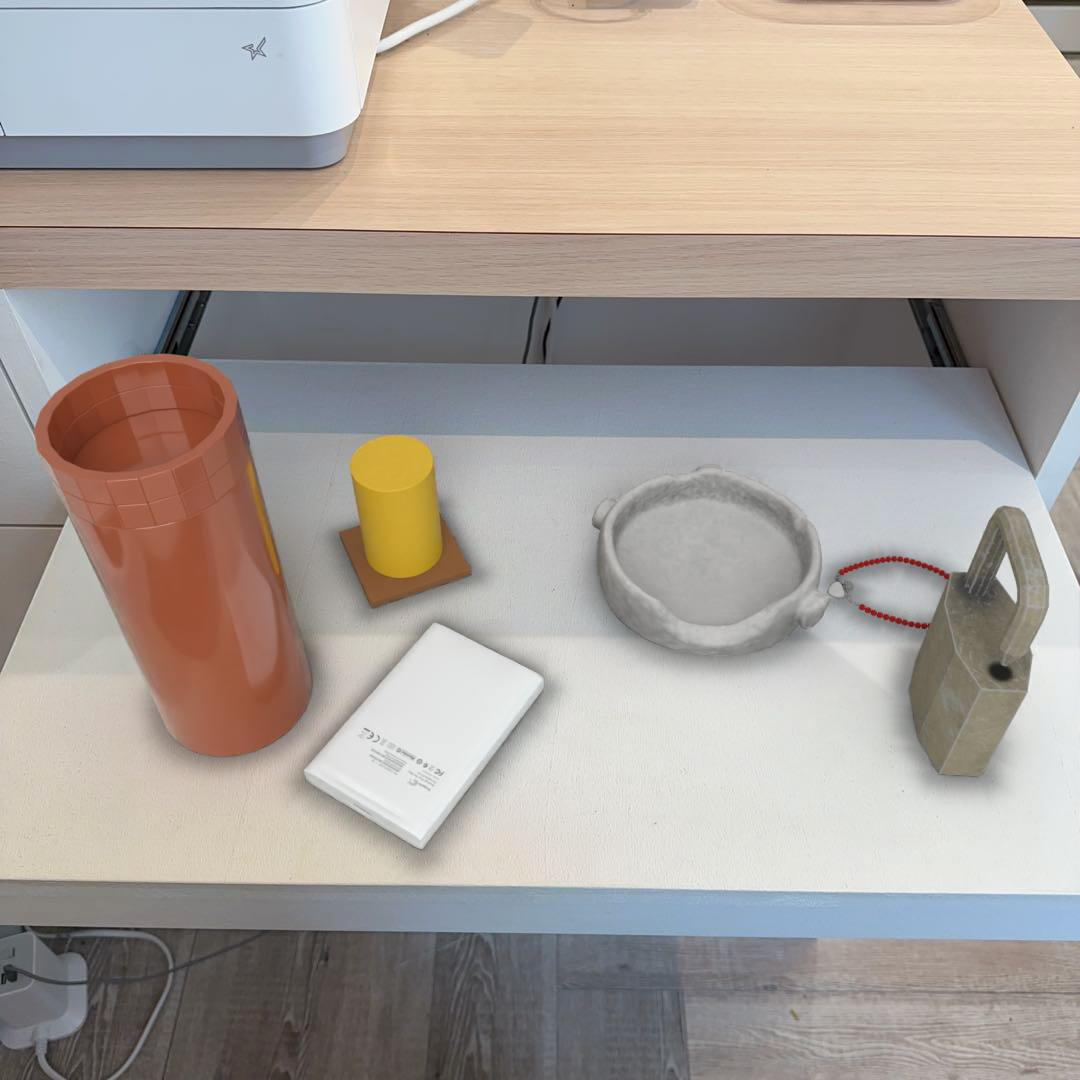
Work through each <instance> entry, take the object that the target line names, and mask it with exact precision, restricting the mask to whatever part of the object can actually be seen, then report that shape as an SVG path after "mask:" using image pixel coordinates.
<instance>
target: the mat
mask: <svg viewBox="0 0 1080 1080" xmlns="http://www.w3.org/2000/svg"><path fill="white" fill-rule="evenodd" d="M439 515H440V525H441V534H442V544H443V550H442V554H441V556H440V558H439V560H438V561H437V563H436V564H435V565H434V566H433V567H432V568H431V569H429V570H428V571H426V572H424V573H422V574H420V575H417V576H413V577H408V578H393V577H388V576H385V575H382V574H380V573H379V572H377V571H376V570H374V569H373V568H372V567H371V566H370V564H369V563H368V561H367V558H366V554H365V549H364V543H363V538H362V532H361V527H360V525H357V526H353V527H350V528H347V529H344V530H341V531H338V534H339V539H340V542H341V543H342V545H343V548H344V550H345V552H346V555H347V557H348V559H349V561H350V563H351V566H352V567H353V571H354V572H355V575H356V577H357V579H358V581H359V584H360V586H361V588H362V590H363V592H364V594H365V597H366V599H367V601H368V604H369V606H370V608H371V609H374V608H377V607H379V606H382V605H385V604H386V605H387V604H389V603H392V602H395V601H397V600H398V601H399V600H400V599H404V598H406V597H407V598H408V597H410V596H412V595H416V594H418V593H422V592H424V591H428V590H430V589H434V588H436V587H440V586H443V585H446V584H449V583H451V582H454V581H457V580H461V579H463V578H467V577H469V576H472V568H471V566H470V564H469V563H468V561H467V559H466V557H465V555H464V554H463V552H462V550H461V548H460V546H459V545H458V543H457V541H456V539H455V536H454V535H453V534H452V532H451V530H450V528H449V526H448V524H447V522H446V520H445V518H444V517H443V515H442V513H441V511H439Z"/></svg>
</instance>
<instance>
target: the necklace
mask: <svg viewBox="0 0 1080 1080" xmlns="http://www.w3.org/2000/svg"><path fill="white" fill-rule="evenodd" d="M890 562H893V563H896V562H897V563H903V564H909V565H911V566H916V567H917V568H920V567H921V569H923V570H926V569H927V571H929V572H933V573H934V574H938V576H940V577H943V579H944V580H946V581H948V578H949V576H950V573H948V572H947V573H946V571H945V570H944V569H940V568H939V567H937V566H934V565H933V564H928V563H927V562H922V561H920V560H916V559H915V558H911V559H910V557H903V556H902V555H901V556H896V555H893V556H890V555H887V556H886V557H884V556H881V557H879V558H878V557H876V558H873V559H872V558H870V559H869V560H864V561H859V562H858V563H854V564H849V565H848V566H845V567H843V568H840V569H839V570H838V572H837V574H836V575H835V576H834V577H833V579H834V580H835V581H833V582H832V583H831V584H829V586H828V588H827V591H826V594H827V595H829V596H830V598H831V597H832V598H834V599H838V600H841V599H843V598H846V600H847V601H848V602H849V603H850V604H851V603H852V604H853V605H854V606H856V607H858V609H859V610H860V611H863V612H864V613H865V614H870V616H872V617H876V618H878V619H883V620H884V621H889V622H890V623H895V624H896V625H901V626H904V627H907V626H908V627H909V628H915V629H916V630H917V629H922V630H926V629H927V630H928V628H929V625H930V623H931V622H928V623H926V622H922V623H921V622H919V621H917V622H914V621H913V620H907V619H902V618H901V617H896V616H894V615H889V614H888V613H883V612H881V611H877V610H876V609H872V608H871V607H869V606H866V605H865V604H863V603H857V602H855V601H853V600H852V595H850V594H849V592H852V591H853V589H854V587H855V585H854V583H853V582H852V581H850V580H844V579H842V578H840V576H844V575H845V574H848V573H849V572H853V571H854V570H858V569H862V568H864V567H868V566H874V565H875V564H876V565H879V564H884V563H890ZM846 594H847V595H846ZM848 598H849V599H848Z"/></svg>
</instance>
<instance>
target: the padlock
mask: <svg viewBox="0 0 1080 1080" xmlns="http://www.w3.org/2000/svg"><path fill="white" fill-rule="evenodd" d="M1006 555H1007V558H1008V561H1009V564H1010V567H1011V571H1012V574H1013V578H1014V580H1015V585H1016V601H1015V600H1014V599H1013V598H1012V596H1011V595H1010V593H1009V592H1008V591H1007V589H1006V588H1005V587H1004V585H1003V584H1002V583H1001V582H1000V580H999V579H998V577H997V575H998V572H999V571H1000V569H1001V565H1002V563H1003V561H1004V559H1005V557H1006ZM949 575H950V576H949V578H948V580H946V584H945V587H944V588H943V591H942V594H941V596H940V598H939V601H938V603H937V606H936V608H935V611H934V613H933V616H932V617H931V621H930V622H929V623H930V625H929V628H928V627H927V630H926V632H925V635H924V638H923V640H922V642H921V644H920V647H919V650H918V653H917V655H916V657H915V661H914V665H913V668H912V673H911V678H910V682H909V686H908V694H909V695H908V696H909V700H910V705H911V710H912V715H913V721H914V725H915V726H914V727H915V730H916V735H917V739H918V740H919V742H920V744H921V746H922V747H923V749H924V751H925V752H926V754H927V756H928V758H929V760H930V761H931V763H932V764H933V766H934V768H935V769H936V771H937V772H938V775H948V776H949V775H951V776H968V777H980V778H982V776H983V774H984V773H985V771H986V769H987V767H988V765H989V764H990V762H991V760H992V758H993V756H994V754H995V753H996V751H997V749H998V747H999V745H1000V743H1001V741H1002V739H1003V738H1004V736H1005V734H1006V732H1007V731H1008V729H1009V727H1010V725H1011V724H1012V722H1013V720H1014V718H1015V716H1016V715H1017V712H1018V711H1019V709H1020V707H1021V706H1022V703H1023V702H1024V700H1025V698H1026V696H1027V694H1028V693H1029V687H1030V679H1031V671H1032V664H1033V656H1034V654H1033V651H1032V648H1031V646H1032V644H1033V643H1034V640H1035V638H1036V637H1037V635H1038V632H1039V630H1040V629H1041V627H1042V625H1043V623H1044V621H1045V619H1046V616H1047V612H1048V610H1049V607H1050V584H1049V583H1050V582H1049V579H1048V574H1047V571H1046V568H1045V565H1044V562H1043V558H1042V556H1041V552H1040V550H1039V547H1038V544H1037V541H1036V538H1035V535H1034V532H1033V529H1032V526H1031V522H1030V520H1029V518H1028V517H1027V515H1026V513H1025V512H1024V511H1023V510H1022V509H1021V508H1020V507H1017V506H1016V507H1015V506H1010V505H1002V506H999V507H996V509H995V511H994V512H993V514H992V515H991V517H990V518H989V520H988V522H987V524H986V526H985V529H984V531H983V534H982V536H981V539H980V541H979V543H978V546H977V547H976V550H975V553H974V554H973V557H972V559H971V562H970V565H969V567H968V569H967V571H956V570H955V571H954V570H953V571H950V573H949Z"/></svg>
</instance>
